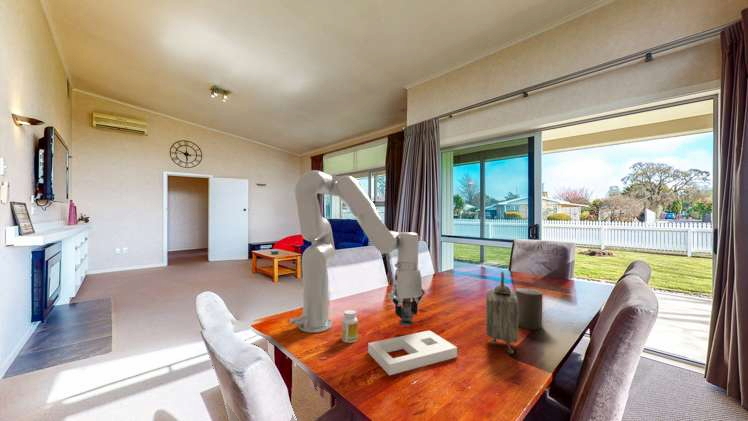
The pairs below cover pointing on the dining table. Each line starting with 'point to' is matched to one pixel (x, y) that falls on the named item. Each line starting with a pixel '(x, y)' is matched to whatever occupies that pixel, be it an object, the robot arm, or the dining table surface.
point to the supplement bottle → (349, 326)
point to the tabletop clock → (502, 314)
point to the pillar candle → (529, 308)
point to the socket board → (411, 351)
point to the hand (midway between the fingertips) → (406, 314)
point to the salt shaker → (406, 312)
